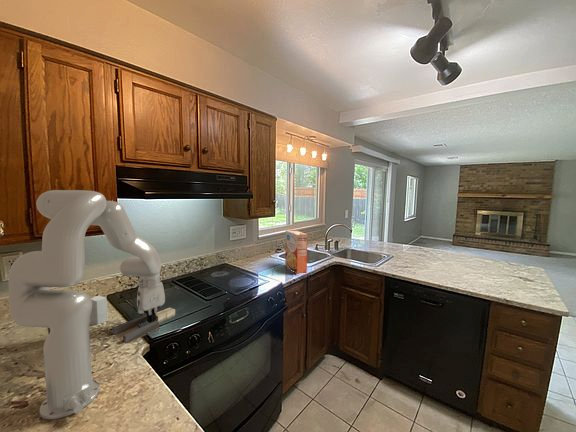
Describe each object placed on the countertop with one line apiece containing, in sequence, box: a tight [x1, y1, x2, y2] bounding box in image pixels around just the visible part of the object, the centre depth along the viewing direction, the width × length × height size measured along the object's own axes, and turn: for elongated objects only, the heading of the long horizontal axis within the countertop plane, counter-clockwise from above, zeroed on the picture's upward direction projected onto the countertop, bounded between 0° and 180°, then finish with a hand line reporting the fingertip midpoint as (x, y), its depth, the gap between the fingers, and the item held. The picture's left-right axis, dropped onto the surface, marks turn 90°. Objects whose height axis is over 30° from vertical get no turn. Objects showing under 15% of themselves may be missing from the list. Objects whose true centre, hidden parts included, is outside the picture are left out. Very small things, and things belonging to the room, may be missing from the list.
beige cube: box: [161, 307, 176, 320], centre depth 114 cm, size 4×4×4 cm
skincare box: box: [89, 295, 109, 326], centre depth 109 cm, size 6×4×12 cm
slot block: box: [111, 314, 161, 345], centre depth 102 cm, size 13×13×4 cm
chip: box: [155, 310, 168, 324], centre depth 111 cm, size 4×4×4 cm
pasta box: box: [284, 229, 308, 275], centre depth 190 cm, size 23×8×30 cm, turn 22°
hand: (151, 321), depth 107 cm, fingers closed
